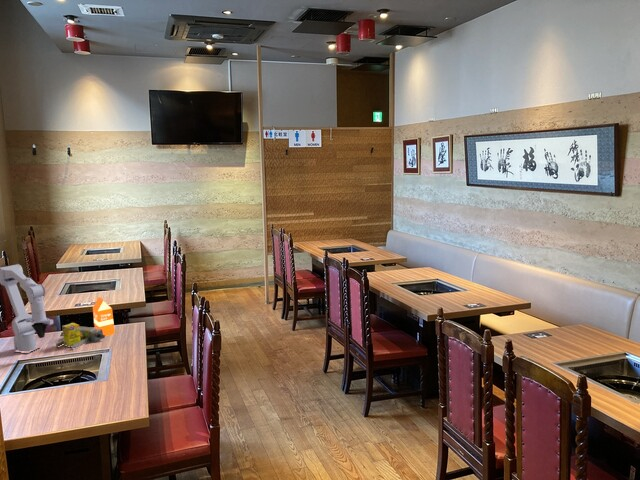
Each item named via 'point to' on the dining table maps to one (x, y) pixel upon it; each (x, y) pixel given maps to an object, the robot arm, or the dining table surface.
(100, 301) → the orange juice
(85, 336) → the grey plush toy
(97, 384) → the dining table surface
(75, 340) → the supplement box
